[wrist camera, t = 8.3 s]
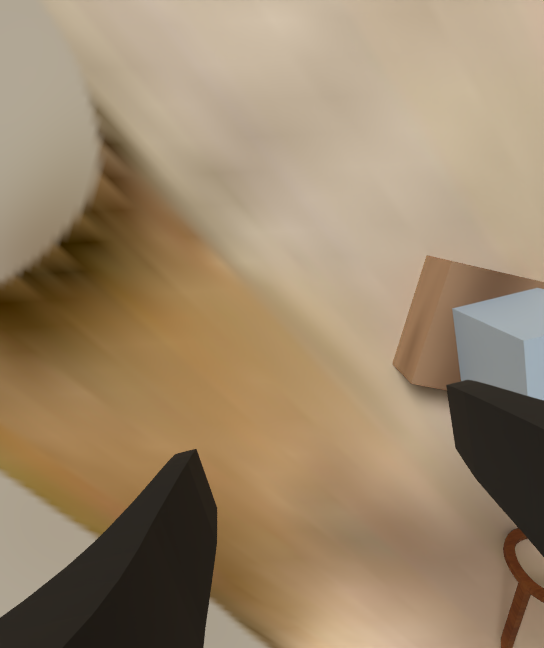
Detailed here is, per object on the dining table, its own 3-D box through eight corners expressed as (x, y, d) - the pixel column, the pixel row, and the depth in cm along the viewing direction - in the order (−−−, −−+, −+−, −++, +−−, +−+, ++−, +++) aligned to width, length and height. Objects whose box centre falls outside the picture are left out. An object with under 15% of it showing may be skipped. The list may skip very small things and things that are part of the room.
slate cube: (537, 287, 18) (639, 312, 14) (542, 367, 19) (638, 416, 15) (452, 308, 18) (523, 340, 14) (461, 386, 20) (531, 442, 15)
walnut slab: (529, 278, 21) (572, 289, 19) (490, 381, 23) (524, 405, 20) (424, 254, 21) (451, 261, 18) (390, 361, 22) (411, 383, 19)
